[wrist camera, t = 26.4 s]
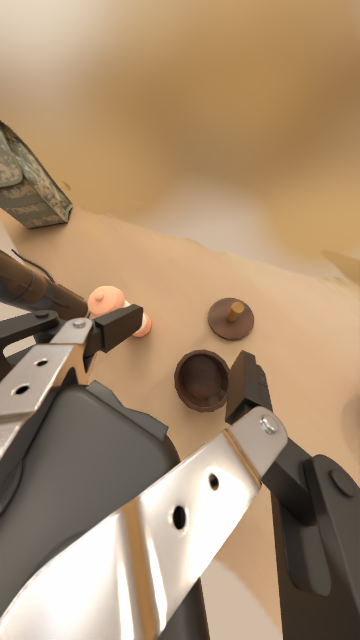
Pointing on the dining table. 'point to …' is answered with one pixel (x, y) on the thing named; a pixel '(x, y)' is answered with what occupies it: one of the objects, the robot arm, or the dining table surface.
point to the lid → (231, 318)
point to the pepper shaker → (113, 305)
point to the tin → (202, 380)
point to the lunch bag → (28, 185)
